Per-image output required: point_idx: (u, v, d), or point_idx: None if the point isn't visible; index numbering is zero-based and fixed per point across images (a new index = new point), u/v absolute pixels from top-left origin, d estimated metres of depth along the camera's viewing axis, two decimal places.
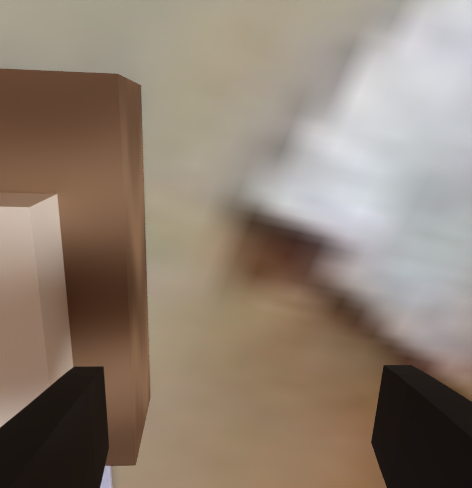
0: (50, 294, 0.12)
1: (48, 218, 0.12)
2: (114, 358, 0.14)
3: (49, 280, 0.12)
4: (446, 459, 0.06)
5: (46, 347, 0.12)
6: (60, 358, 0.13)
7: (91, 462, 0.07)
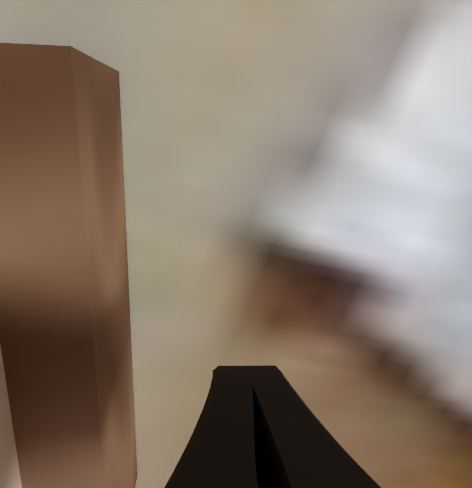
0: None
1: None
2: (78, 461, 0.10)
3: None
4: (266, 463, 0.06)
5: None
6: None
7: None
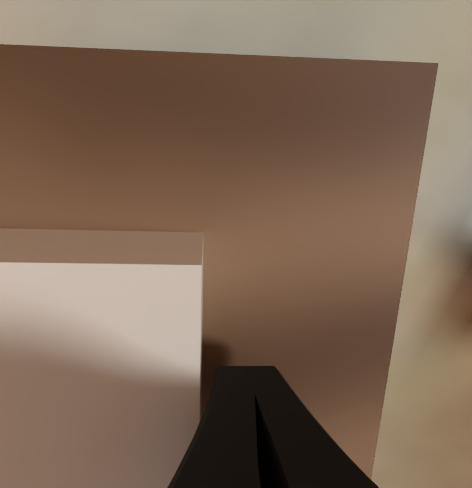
0: (200, 384, 0.08)
1: (202, 272, 0.08)
2: (353, 455, 0.10)
3: None
4: (264, 463, 0.06)
5: None
6: None
7: None
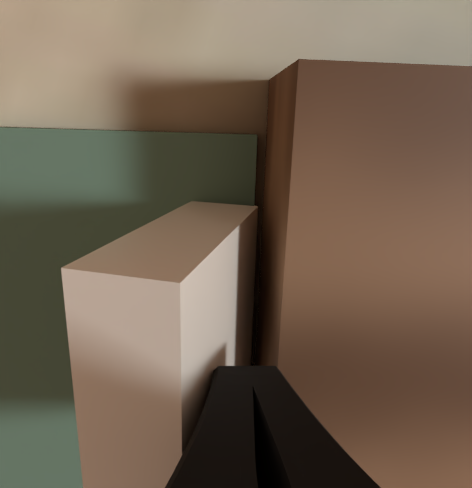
0: (113, 424, 0.07)
1: (129, 311, 0.06)
2: None
3: (113, 403, 0.07)
4: (266, 463, 0.06)
5: (84, 477, 0.08)
6: None
7: None
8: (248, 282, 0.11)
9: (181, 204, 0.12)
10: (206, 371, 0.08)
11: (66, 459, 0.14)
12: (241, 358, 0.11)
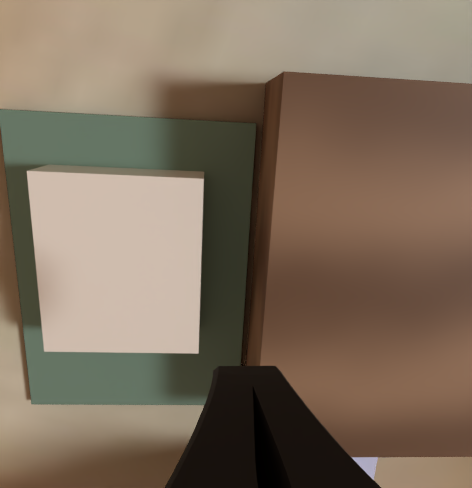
0: None
1: None
2: None
3: None
4: (266, 462, 0.06)
5: None
6: None
7: None
8: (175, 231, 0.15)
9: None
10: (71, 239, 0.15)
11: (102, 373, 0.19)
12: (160, 284, 0.15)
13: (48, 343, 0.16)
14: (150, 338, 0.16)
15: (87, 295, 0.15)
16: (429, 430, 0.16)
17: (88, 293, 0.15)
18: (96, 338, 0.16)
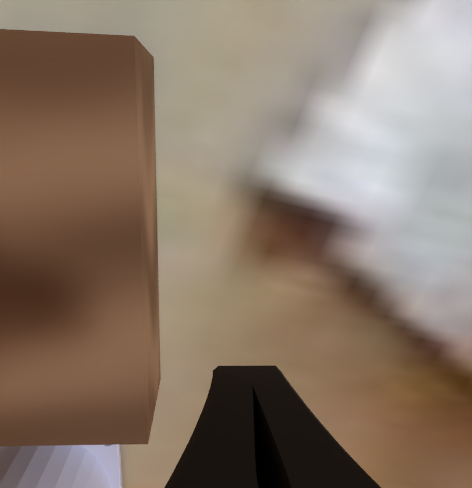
0: None
1: None
2: (127, 332, 0.14)
3: None
4: (266, 463, 0.06)
5: None
6: None
7: None
8: None
9: None
10: None
11: None
12: None
13: None
14: None
15: None
16: (90, 415, 0.15)
17: None
18: None
